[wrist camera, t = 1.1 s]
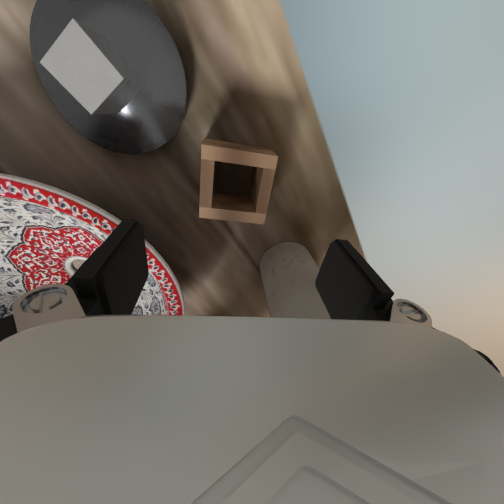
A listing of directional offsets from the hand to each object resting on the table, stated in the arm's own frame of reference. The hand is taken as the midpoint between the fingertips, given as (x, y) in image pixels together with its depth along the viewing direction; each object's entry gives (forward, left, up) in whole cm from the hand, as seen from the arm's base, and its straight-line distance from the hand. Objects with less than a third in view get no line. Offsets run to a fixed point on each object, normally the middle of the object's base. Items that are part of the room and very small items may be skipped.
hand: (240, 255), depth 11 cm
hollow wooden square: (-1, 0, -17) cm, 17 cm away
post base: (+12, +3, -17) cm, 22 cm away
